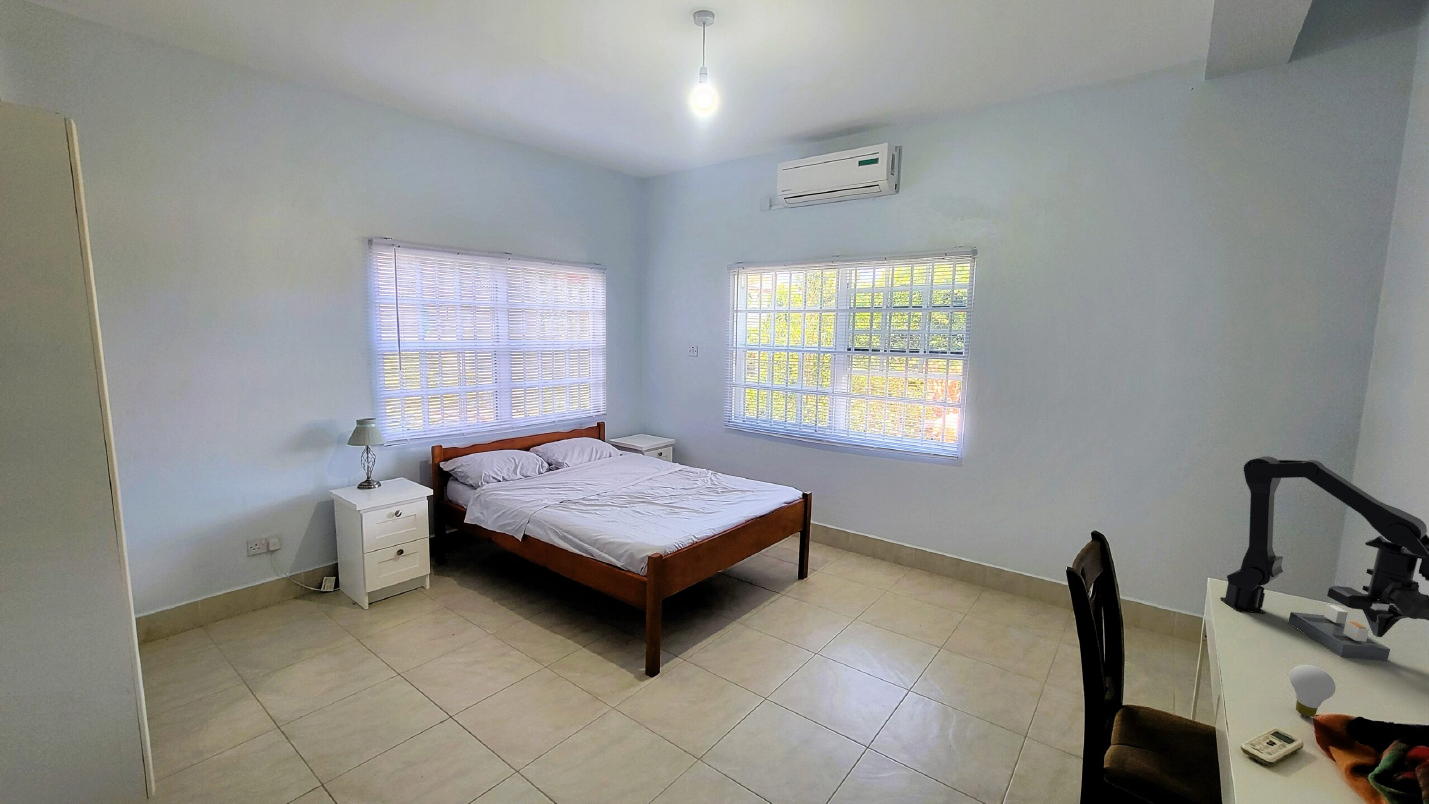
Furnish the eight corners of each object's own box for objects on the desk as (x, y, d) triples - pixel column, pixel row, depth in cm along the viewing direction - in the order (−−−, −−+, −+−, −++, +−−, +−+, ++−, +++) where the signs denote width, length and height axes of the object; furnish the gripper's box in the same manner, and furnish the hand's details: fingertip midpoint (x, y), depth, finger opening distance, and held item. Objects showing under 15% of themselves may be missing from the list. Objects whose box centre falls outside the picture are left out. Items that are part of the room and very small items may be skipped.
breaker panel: (1340, 656, 127) (1343, 644, 127) (1288, 623, 141) (1290, 611, 140) (1387, 661, 126) (1390, 648, 126) (1329, 627, 140) (1332, 615, 139)
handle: (1335, 622, 135) (1338, 611, 135) (1324, 616, 138) (1326, 604, 138) (1345, 623, 135) (1347, 612, 134) (1333, 617, 138) (1336, 605, 137)
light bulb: (1336, 729, 104) (1348, 679, 102) (1298, 724, 105) (1309, 674, 103) (1310, 708, 110) (1321, 660, 108) (1274, 702, 111) (1284, 655, 109)
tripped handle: (1355, 640, 128) (1358, 627, 127) (1343, 633, 131) (1346, 620, 130) (1365, 641, 127) (1369, 628, 127) (1353, 634, 130) (1356, 621, 130)
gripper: (1381, 584, 119) (1364, 652, 122) (1486, 593, 117) (1466, 662, 119) (1332, 561, 130) (1318, 624, 133) (1427, 569, 128) (1410, 633, 130)
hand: (1377, 636), depth 128 cm, fingers closed
